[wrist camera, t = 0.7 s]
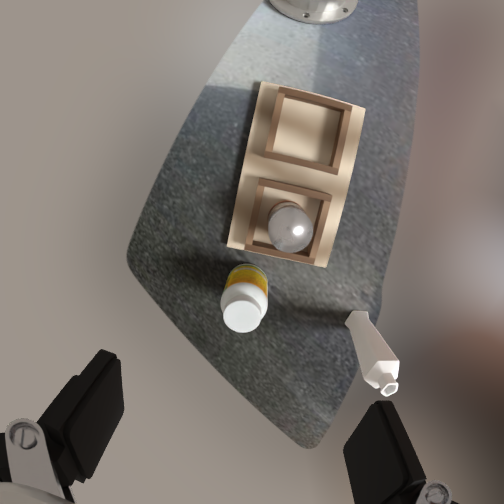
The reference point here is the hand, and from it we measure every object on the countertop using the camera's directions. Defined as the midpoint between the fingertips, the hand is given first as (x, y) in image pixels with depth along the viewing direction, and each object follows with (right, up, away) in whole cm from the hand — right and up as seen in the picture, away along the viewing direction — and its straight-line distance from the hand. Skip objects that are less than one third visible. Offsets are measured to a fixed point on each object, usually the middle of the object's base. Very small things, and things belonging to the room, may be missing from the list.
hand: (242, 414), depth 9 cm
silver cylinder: (+5, +10, +26) cm, 28 cm away
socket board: (+6, +15, +25) cm, 30 cm away
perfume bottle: (+16, -4, +32) cm, 36 cm away
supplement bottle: (0, +2, +30) cm, 30 cm away
